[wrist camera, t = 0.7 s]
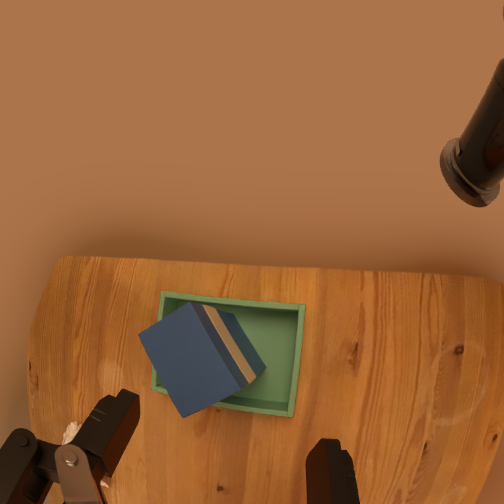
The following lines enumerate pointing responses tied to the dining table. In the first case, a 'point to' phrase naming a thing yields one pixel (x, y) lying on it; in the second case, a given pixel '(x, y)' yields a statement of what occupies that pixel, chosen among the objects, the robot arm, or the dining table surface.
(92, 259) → the dining table surface
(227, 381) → the block
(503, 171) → the robot arm
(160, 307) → the tray
